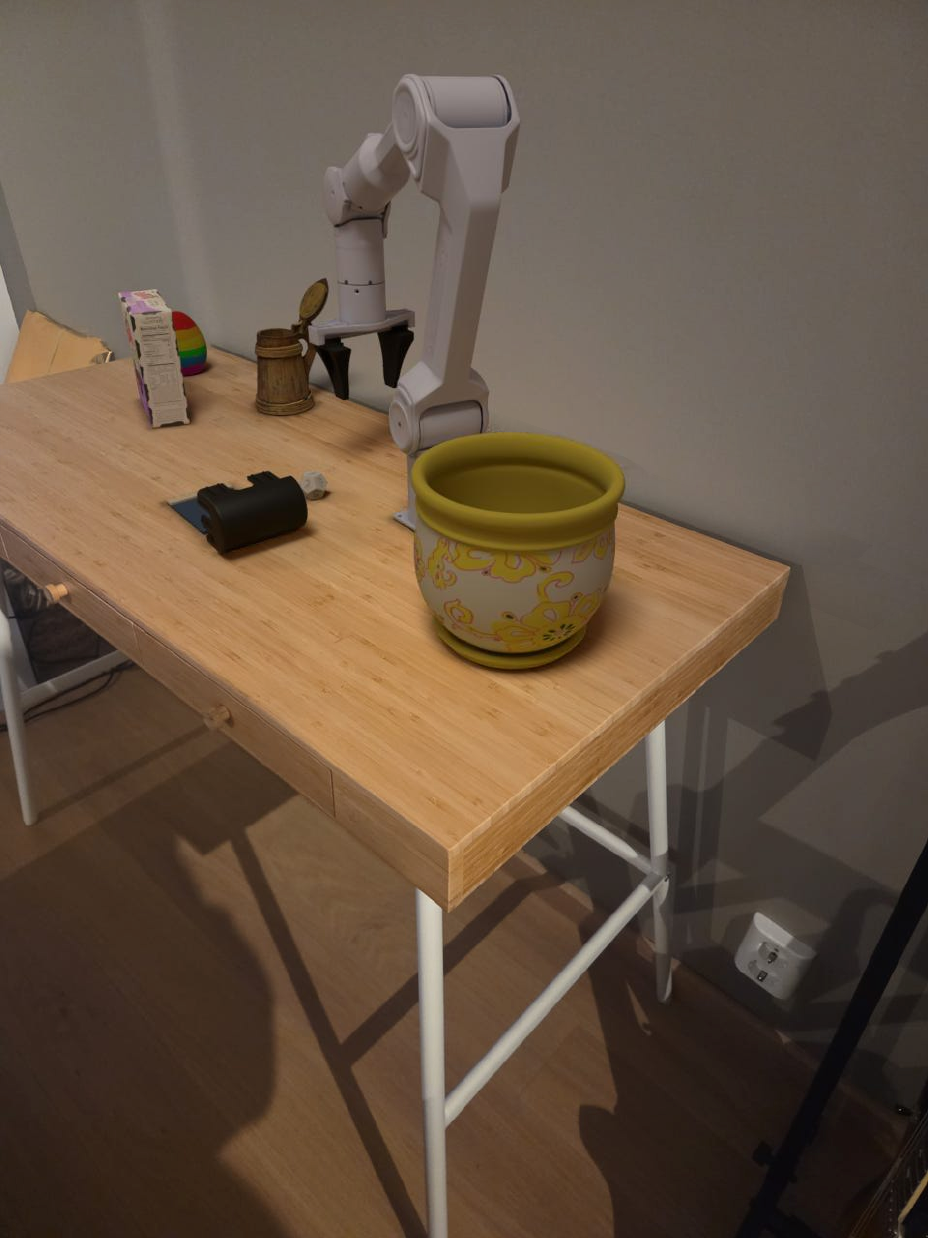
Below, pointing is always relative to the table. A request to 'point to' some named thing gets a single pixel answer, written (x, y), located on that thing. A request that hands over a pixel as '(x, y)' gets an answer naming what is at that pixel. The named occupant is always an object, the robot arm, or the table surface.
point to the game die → (313, 484)
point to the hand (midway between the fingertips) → (367, 391)
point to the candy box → (155, 357)
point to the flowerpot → (514, 543)
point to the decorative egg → (189, 344)
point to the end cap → (252, 511)
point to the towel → (190, 509)
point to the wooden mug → (288, 359)
